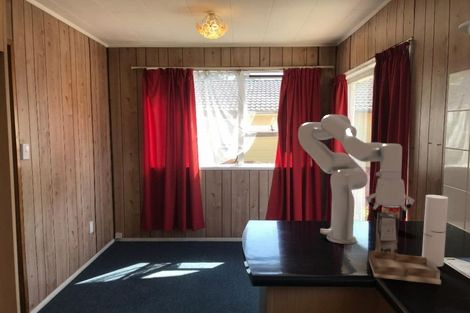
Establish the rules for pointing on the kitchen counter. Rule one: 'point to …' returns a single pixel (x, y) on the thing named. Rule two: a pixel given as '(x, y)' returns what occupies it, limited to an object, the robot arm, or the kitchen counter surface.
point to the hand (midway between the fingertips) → (389, 219)
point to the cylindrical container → (435, 228)
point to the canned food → (391, 210)
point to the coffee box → (387, 232)
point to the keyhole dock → (403, 267)
